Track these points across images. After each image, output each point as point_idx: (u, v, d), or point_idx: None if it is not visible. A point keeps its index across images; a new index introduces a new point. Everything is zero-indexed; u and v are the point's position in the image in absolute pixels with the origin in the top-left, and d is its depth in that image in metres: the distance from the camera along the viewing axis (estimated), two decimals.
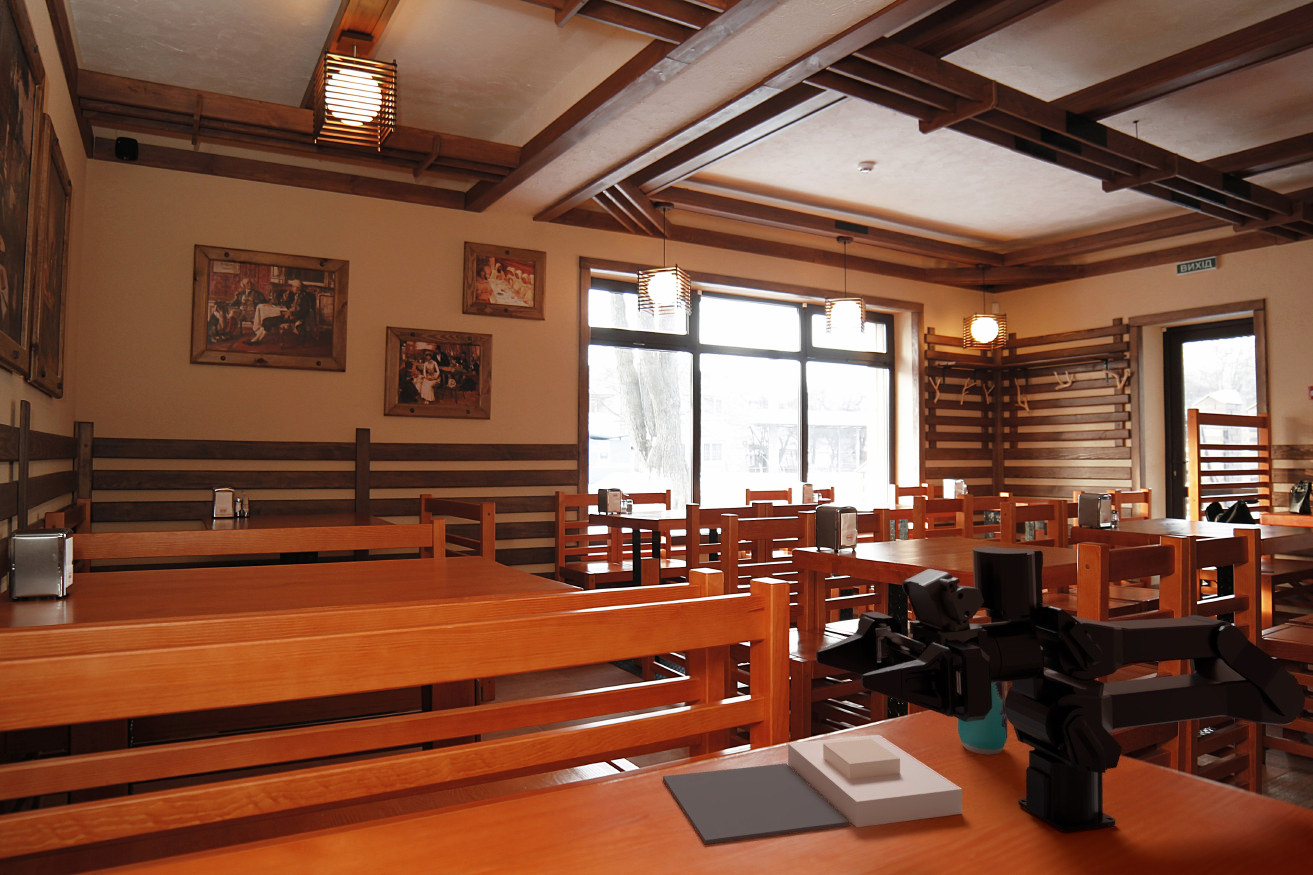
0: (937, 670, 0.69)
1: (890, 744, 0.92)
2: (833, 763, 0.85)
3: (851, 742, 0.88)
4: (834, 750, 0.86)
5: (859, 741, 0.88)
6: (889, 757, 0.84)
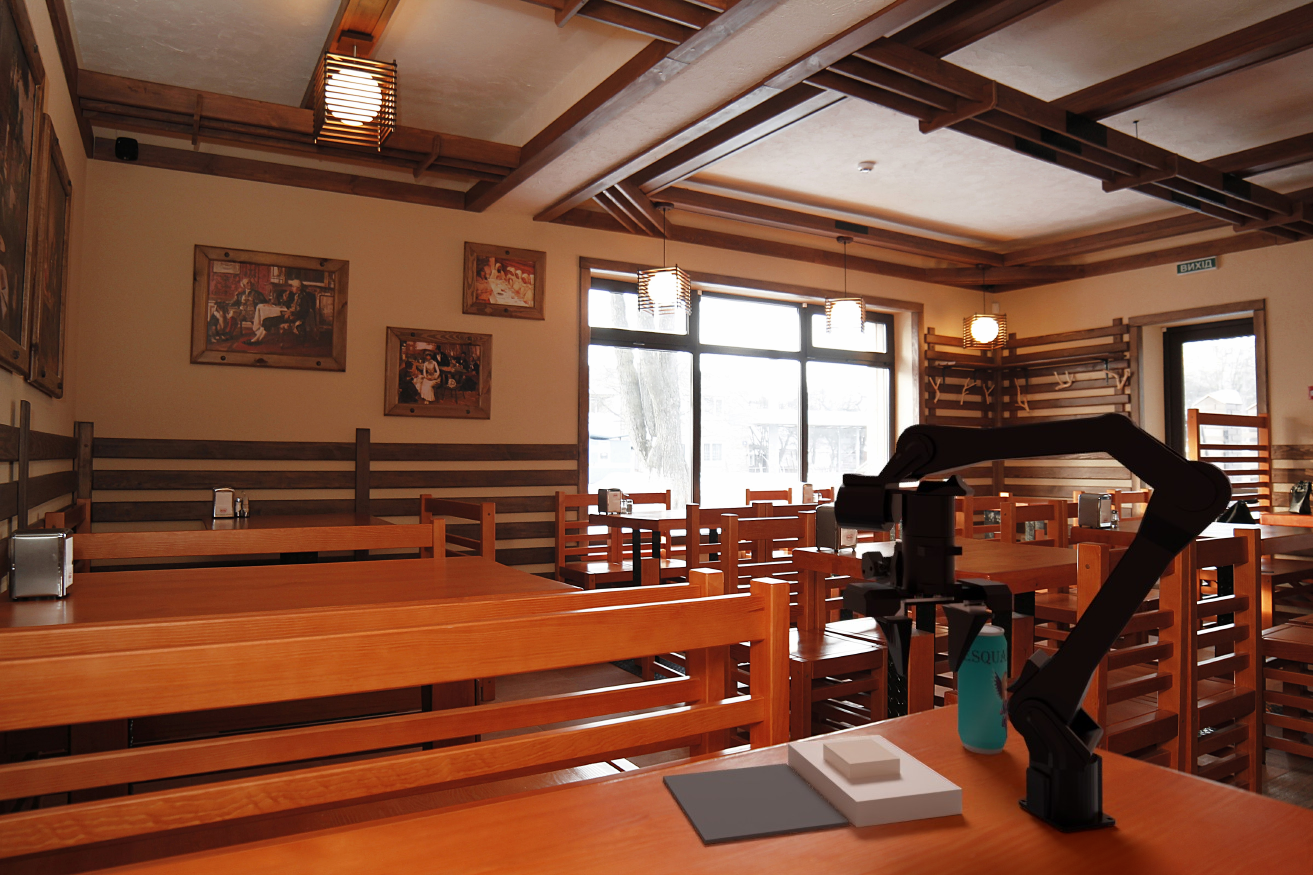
0: None
1: (890, 744, 0.92)
2: (833, 763, 0.85)
3: (851, 742, 0.88)
4: (834, 750, 0.86)
5: (859, 741, 0.88)
6: (889, 757, 0.84)
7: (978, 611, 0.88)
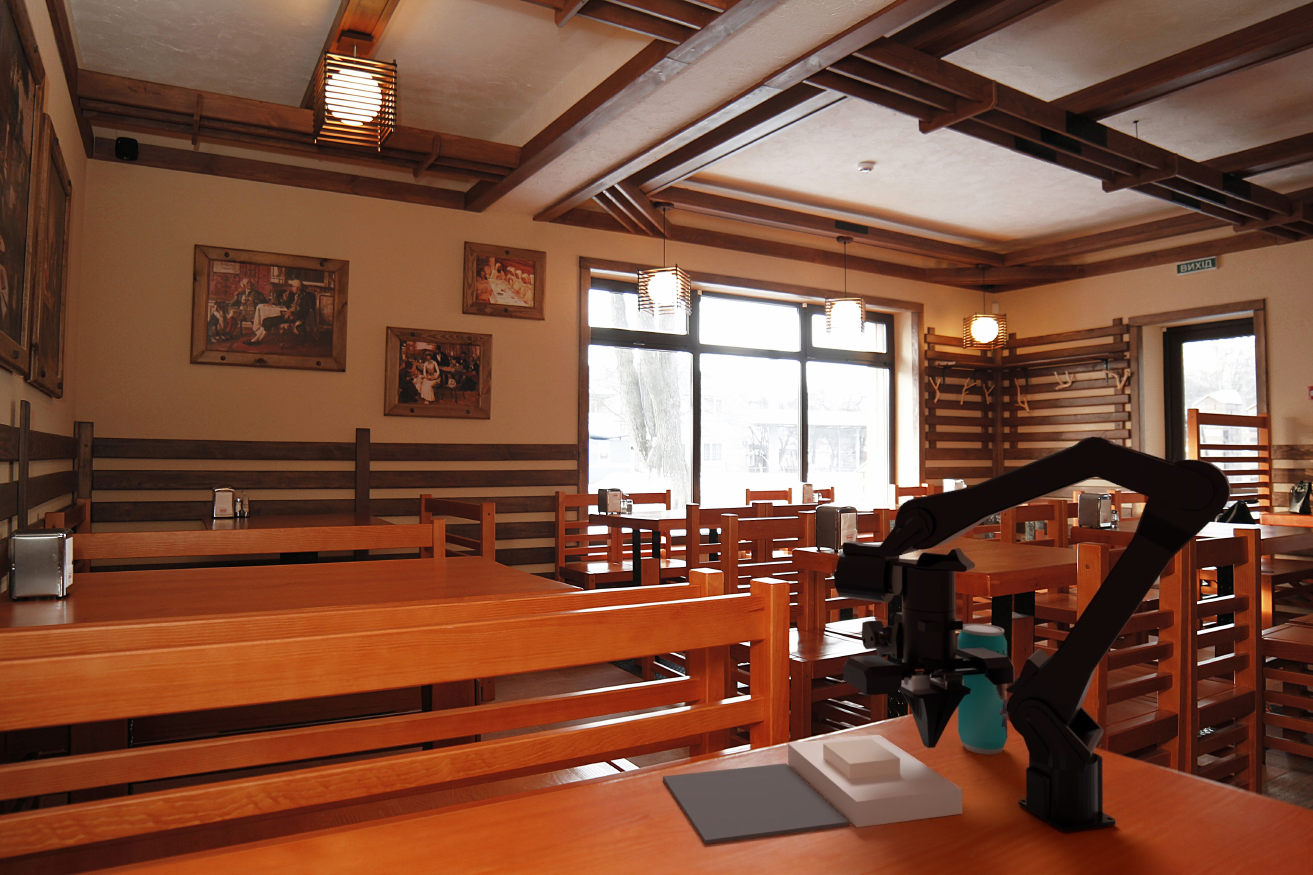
0: None
1: (890, 744, 0.92)
2: (833, 763, 0.85)
3: (851, 742, 0.88)
4: (834, 750, 0.86)
5: (859, 741, 0.88)
6: (889, 757, 0.84)
7: (955, 686, 0.87)
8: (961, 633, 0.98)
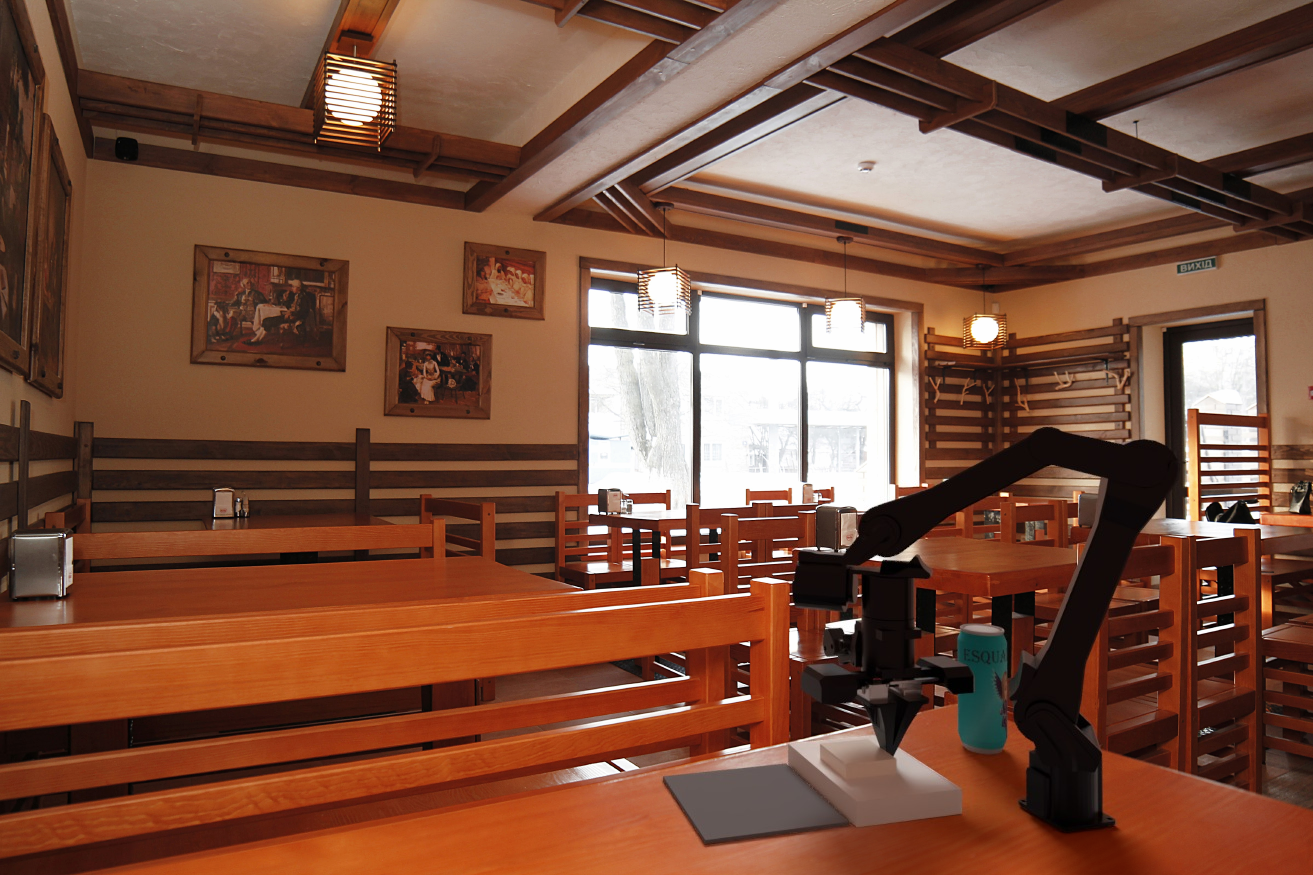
0: None
1: None
2: (830, 763, 0.85)
3: (848, 742, 0.88)
4: (831, 750, 0.86)
5: (856, 741, 0.88)
6: (886, 757, 0.84)
7: (913, 695, 0.86)
8: (961, 633, 0.98)
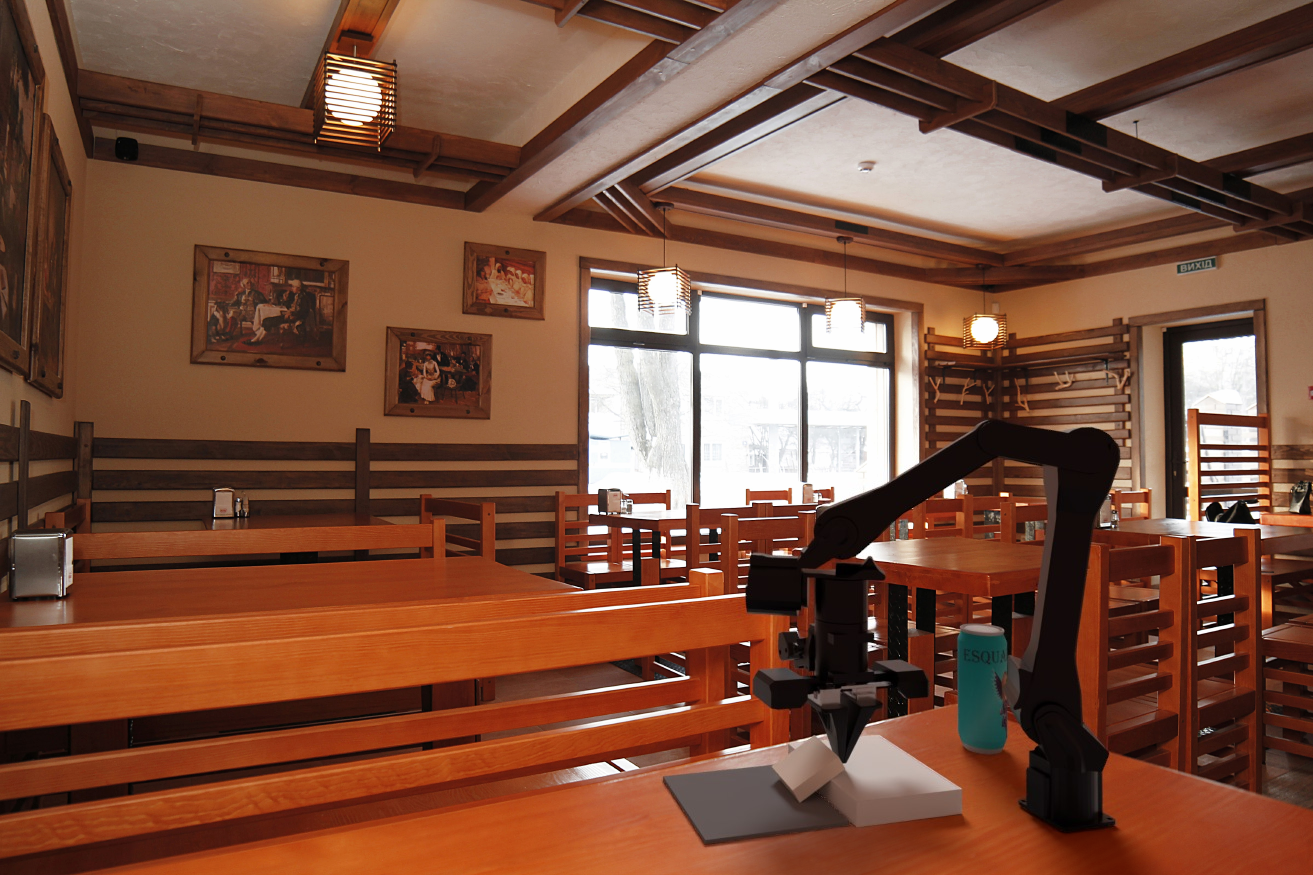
0: None
1: (890, 744, 0.92)
2: (785, 785, 0.84)
3: (796, 751, 0.87)
4: (780, 773, 0.85)
5: (804, 745, 0.87)
6: (829, 759, 0.82)
7: (867, 700, 0.84)
8: (961, 633, 0.98)
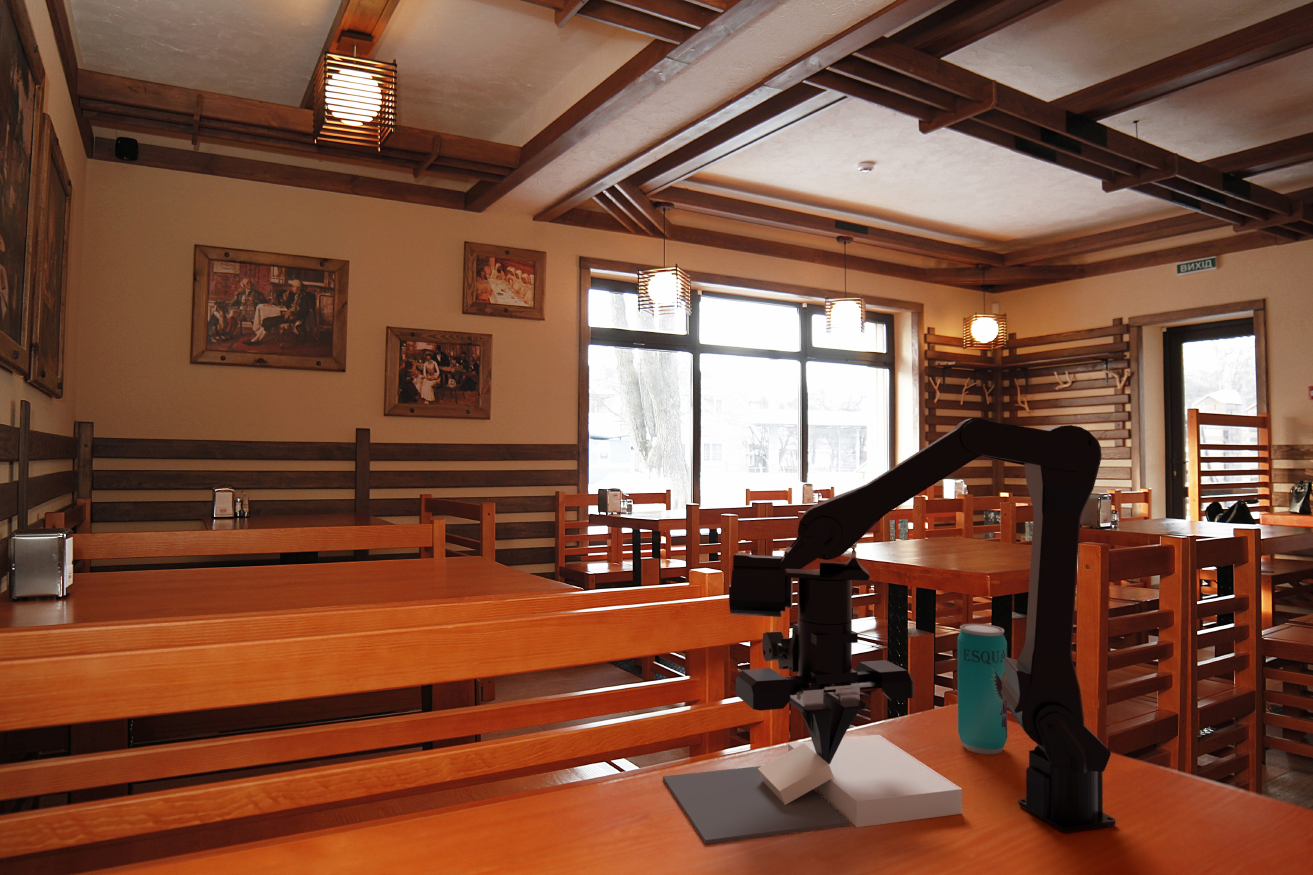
0: None
1: (890, 744, 0.92)
2: (770, 788, 0.84)
3: (784, 756, 0.86)
4: (767, 775, 0.84)
5: (792, 751, 0.87)
6: (818, 766, 0.82)
7: (851, 701, 0.84)
8: (961, 633, 0.98)
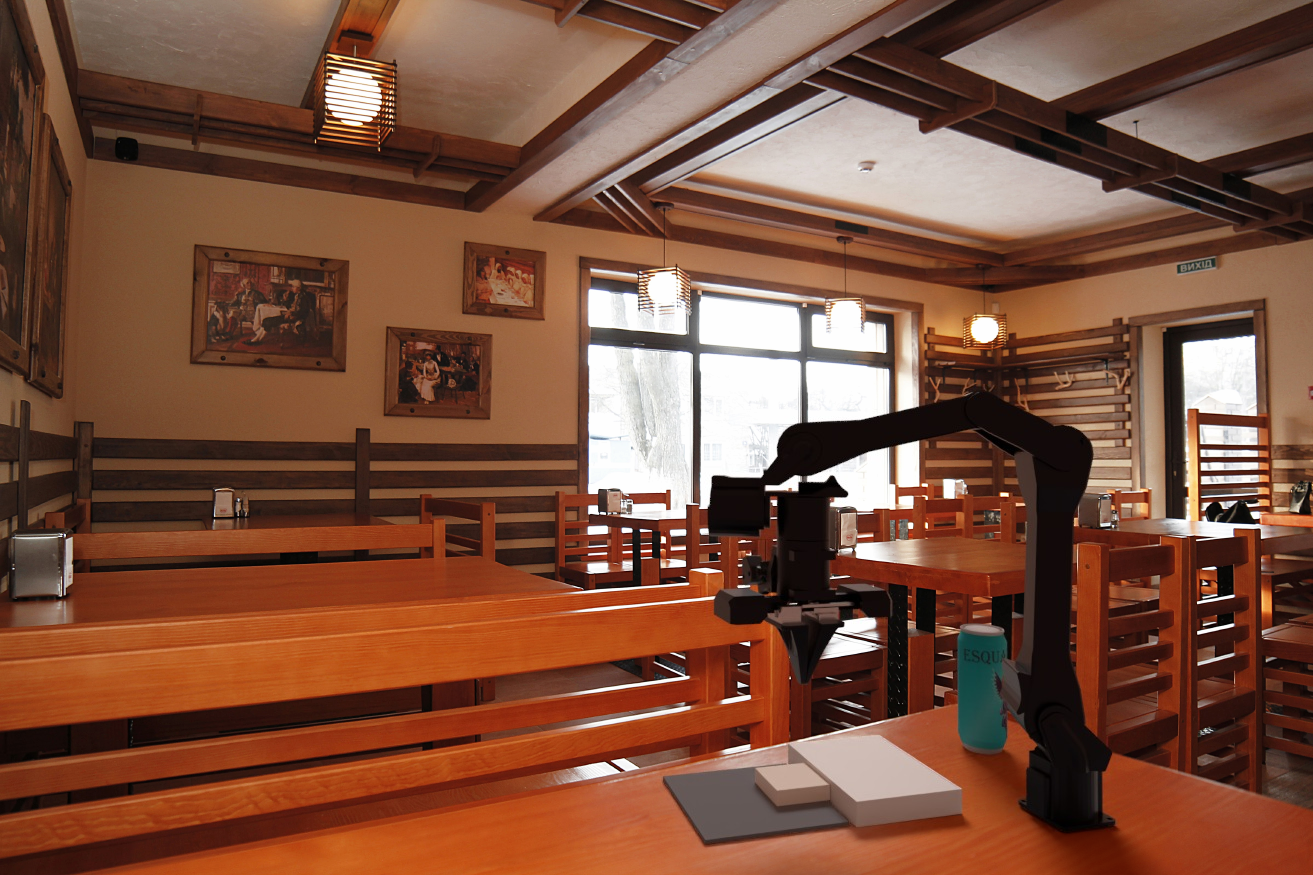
0: None
1: (890, 744, 0.92)
2: (763, 789, 0.84)
3: (784, 766, 0.86)
4: (764, 775, 0.84)
5: (792, 765, 0.87)
6: (819, 783, 0.82)
7: (829, 620, 0.83)
8: (961, 633, 0.98)
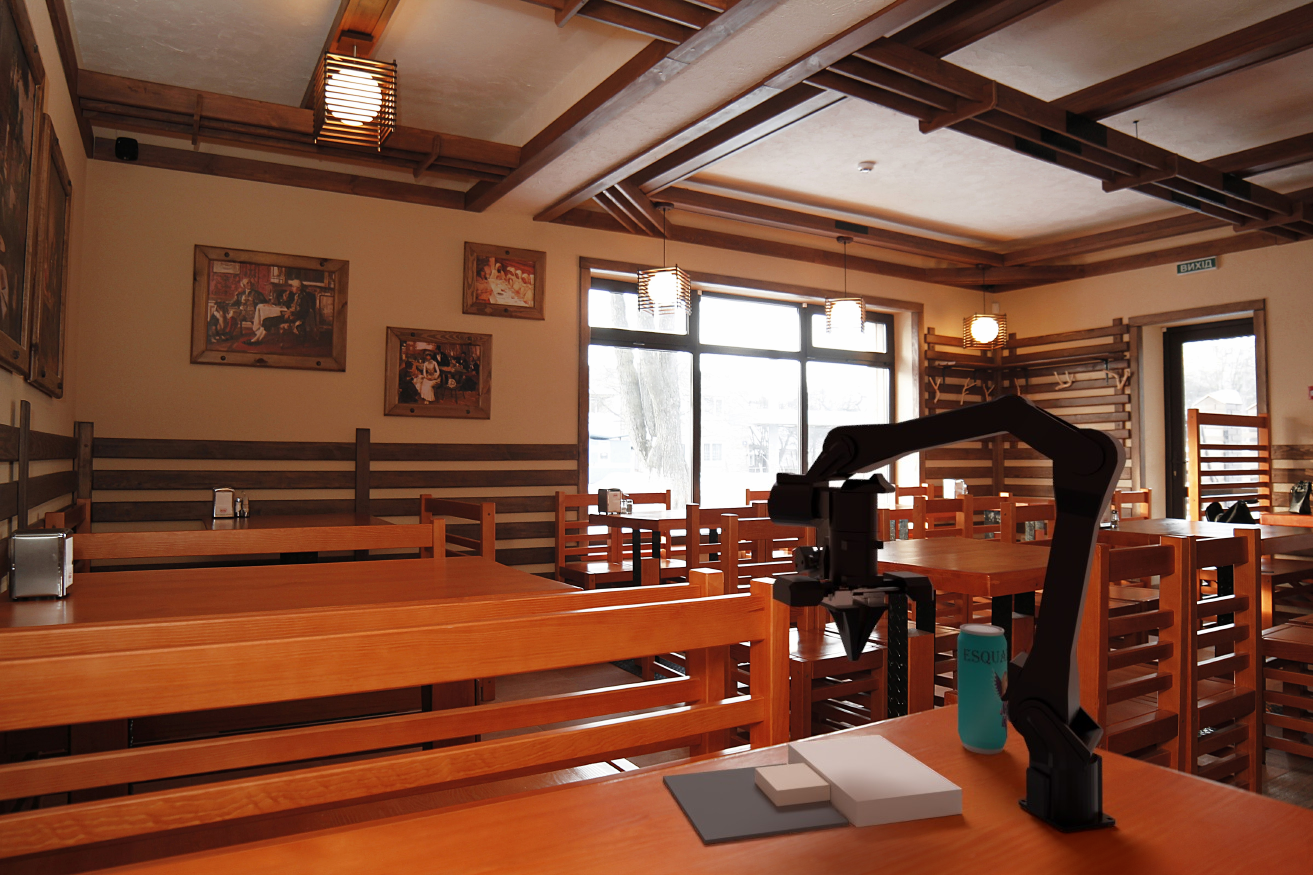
0: None
1: (890, 744, 0.92)
2: (763, 789, 0.84)
3: (784, 766, 0.86)
4: (764, 775, 0.84)
5: (792, 765, 0.87)
6: (819, 783, 0.82)
7: (877, 603, 0.93)
8: (961, 633, 0.98)
